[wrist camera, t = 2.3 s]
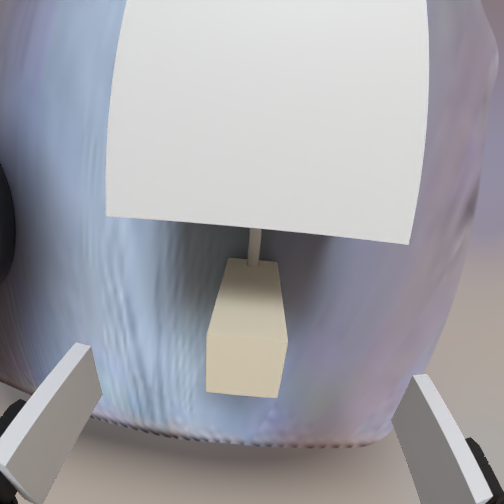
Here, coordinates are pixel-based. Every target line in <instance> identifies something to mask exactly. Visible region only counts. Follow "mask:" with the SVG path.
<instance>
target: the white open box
mask: <svg viewBox="0 0 504 504" xmlns="http://www.w3.org/2000/svg"><path fill="white" fill-rule="evenodd" d="M428 91H429V38H428V19H427V6H426V0H127V2H126V6H125V11H124V15H123V20H122V25H121V30H120V35H119V41H118V47H117V53H116V59H115V66H114V73H113V81H112V89H111V98H110V108H109V120H108V134H107V153H106V216H110V217H125V218H139V219H153V220H166V221H179V222H191V223H203V224H215V225H226V226H237V227H248V228H259V229H270V230H280V231H290V232H300V233H310V234H319V235H329V236H338V237H347V238H356V239H365V240H374V241H382V242H391V243H399V244H407V245H409V240H410V235H411V231H412V226H413V221H414V215H415V210H416V204H417V198H418V192H419V186H420V179H421V172H422V164H423V156H424V147H425V137H426V125H427V111H428Z"/></svg>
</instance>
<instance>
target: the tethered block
mask: <svg viewBox="0 0 504 504" xmlns="http://www.w3.org/2000/svg"><path fill="white" fill-rule="evenodd" d="M261 233H262V229H259V228H250V236H249V247H248V258H247V259H239V258H228V260H227V264H226V267H225V271H224V274H223V278H222V281H221V285H220V289H219V292H218V296H217V299H216V303H215V306H214V310H213V314H212V317H211V321H210V324H209V328H208V332H207V345H206V392H213V393H221V394H231V395H241V396H254V397H268V398H277V396H278V392H279V387H280V382H281V376H282V371H283V366H284V361H285V355H286V350H287V345H288V338H287V330H286V322H285V314H284V307H283V299H282V292H281V284H280V277H279V269H278V262H271V261H260V260H259V253H260V243H261Z"/></svg>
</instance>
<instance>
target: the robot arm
mask: <svg viewBox="0 0 504 504" xmlns="http://www.w3.org/2000/svg"><path fill="white" fill-rule="evenodd" d="M14 244H15V223H14V212H13V205H12V199H11V195H10V190H9V186H8V183H7V180H6V177H5V174H4V171H3V169H2V167H1V165H0V283H1V282H2V281H3V280H4V278H5V277H6V275H7V273H8V271H9V269H10V266H11V262H12V258H13V253H14ZM101 396H102V390H101V387H100V383H99V379H98V375H97V371H96V367H95V362H94V358H93V353H92V349H91V346H88V345H84V344H80V343H75V344H74V345H73V346H72V347H71V349H70V350H69V351H68V352H67V353H66V355H65V356H64V357H63V358H62V359H61V360H60V362H59V363H58V364H57V365H56V366H55V368H54V369H53V370H52V371H51V373H50V374H49V375H48V376H47V377H46V379H45V380H44V381H43V382H42V384H41V385H40V386H39V387H38V389H37V390H36V391H35V392H34V394H33V395H32V396H31V398H30V399H29V400H28V401H27V402H26V401H24V400H21V399H20V400H18V401H17V402H15V403H13V404H12V405H10V406H9V408H8V409H7V410H6V411H5V412H4V414H3V416H1V418H0V504H18V501H17V499H16V497H15V494H16V492H17V491H18V492H19V494H20V495H22V497H23V498H24V499H26V500H28V501H29V502H31V503H33V504H43V503H44V500H45V499H46V497H47V494H48V493H49V490H50V489H51V487H52V485H53V483H54V481H55V479H56V477H57V475H58V473H59V471H60V469H61V467H62V466H63V463H64V462H65V460H66V458H67V456H68V454H69V453H70V451H71V449H72V447H73V445H74V443H75V442H76V440H77V438H78V436H79V434H80V433H81V431H82V429H83V427H84V425H85V424H86V422H87V420H88V419H89V417H90V415H91V413H92V412H93V410H94V408H95V406H96V405H97V403H98V401H99V399H100V398H101ZM391 421H392V424H393V426H394V429H395V432H396V434H397V437H398V439H399V442H400V445H401V448H402V450H403V453H404V456H405V458H406V461H407V464H408V467H409V470H410V473H411V475H412V478H413V481H414V484H415V487H416V490H417V493H418V496H419V499H420V502H421V504H504V492H503V490H502V488H501V486H500V484H499V482H498V480H497V478H496V476H495V474H494V472H493V470H492V468H491V466H490V465H488V461H487V459H486V457H484V453H483V451H482V450H481V448H480V446H479V445H478V444H477V443H476V442H475V441H474V440H473V439H472V438H471V437H470V438H467V439H464V437H463V435H462V433H461V431H460V429H459V428H458V426H457V424H456V422H455V421H454V419H453V417H452V415H451V413H450V412H449V410H448V408H447V407H446V405H445V403H444V401H443V400H442V398H441V396H440V394H439V393H438V391H437V389H436V388H435V386H434V384H433V383H432V381H431V379H430V378H429V376H428V375H427V374H426V375H413V376H412V378H411V380H410V383H409V385H408V387H407V389H406V391H405V393H404V395H403V397H402V400H401V402H400V404H399V406H398V408H397V410H396V411H395V413H394V415H393V417H392V419H391Z"/></svg>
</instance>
